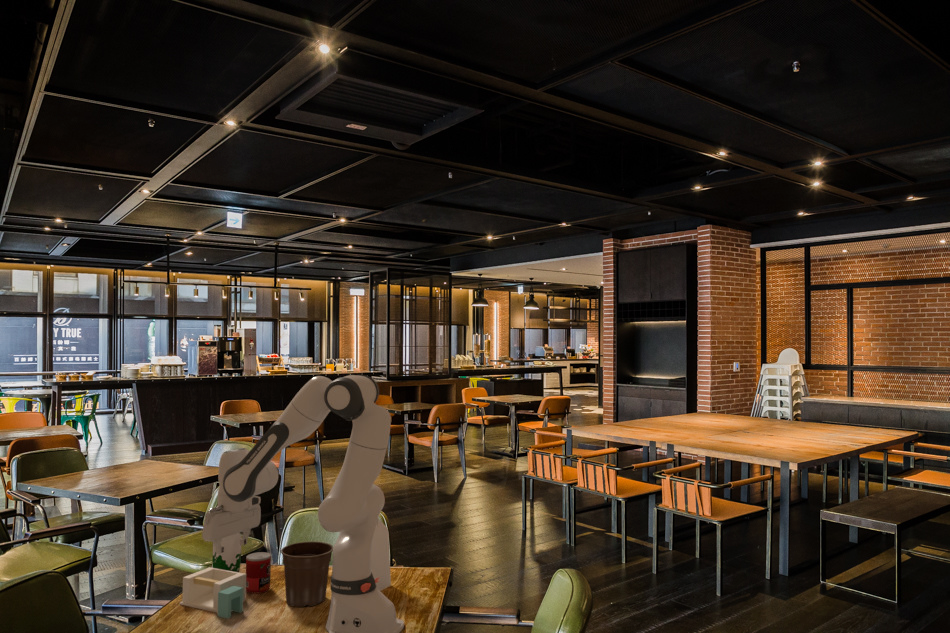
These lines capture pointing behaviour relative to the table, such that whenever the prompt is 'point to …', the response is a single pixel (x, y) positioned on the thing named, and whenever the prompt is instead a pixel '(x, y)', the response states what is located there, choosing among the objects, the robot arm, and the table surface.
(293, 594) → the plant pot
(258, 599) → the table surface
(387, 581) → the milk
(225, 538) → the milk carton
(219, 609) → the green slotted block
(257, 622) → the table surface
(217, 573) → the shelf
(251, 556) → the canned food
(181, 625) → the table surface
